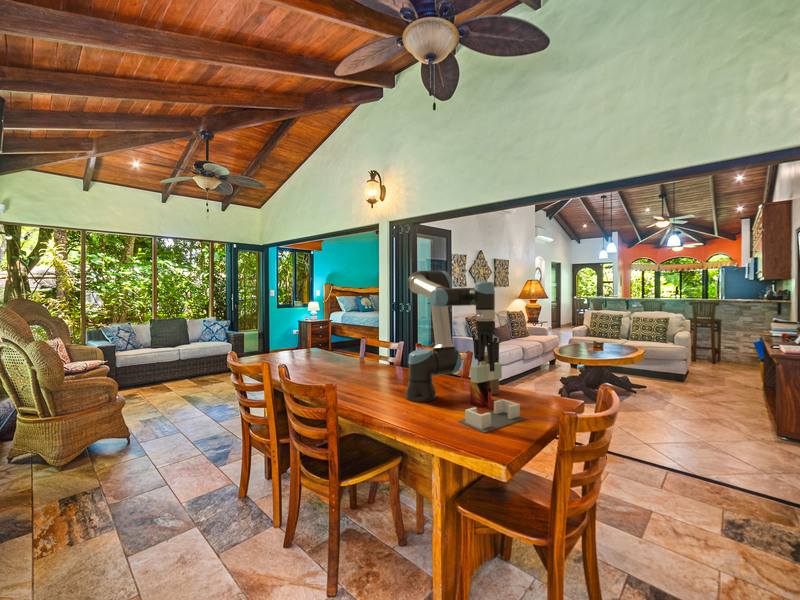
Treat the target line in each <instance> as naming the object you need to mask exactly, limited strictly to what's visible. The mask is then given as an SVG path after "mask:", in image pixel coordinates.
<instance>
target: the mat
mask: <svg viewBox="0 0 800 600" xmlns="http://www.w3.org/2000/svg"><path fill="white" fill-rule="evenodd" d="M488 412H489V413H491V426H490V427H487V428H484V429H480V428H478V427H475V426H473V425H471V424H468V423H466V422H465V418H464V419H460V420H458V421H457V422H458V423H460V424H462V425H464V426H467V427H469V428H471V429H474V430H476V431H479V432H481V433H483V434H486V433H489V432H492V431H495V430H499V429H502V428H504V427H508V426H510V425H511V426H512V425H514V424H517V423H519V422H521V421H525V420H526V418H525V417H522V416H521V415H520V416H519V417H516V418H513V419H509V418H508V413H505V412H502V413H498V414H495V413H494V410H492V411H488ZM488 412H486V413H488Z"/></svg>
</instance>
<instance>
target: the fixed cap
mask: <svg viewBox="0 0 800 600" xmlns="http://www.w3.org/2000/svg"><path fill="white" fill-rule="evenodd" d="M464 412H465V413H464V419H465V422H466V423H468V424H471V425H473V426H475V427H478V428H480V429H484V428H487V427H490V426H491V413H489V412H490V411H488V413H487V412H484V413H478V407H476V406H474V407H471V408H467V409H465V410H464Z"/></svg>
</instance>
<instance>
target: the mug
mask: <svg viewBox="0 0 800 600" xmlns="http://www.w3.org/2000/svg"><path fill="white" fill-rule="evenodd" d="M469 383H470V384H469V385H470V386H469V387H470V390H469V392H470V393H469V394H470V395H469V396H470V397H469V398H470V400H469V401H470V403H469V404H470V405H471V406H474V407H476V406H477V407H476V408H488V409H492V401H493V400H492V395H493V394H491V380H490V381H485V382H481V383H475V382H471V376H470V379H469Z"/></svg>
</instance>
